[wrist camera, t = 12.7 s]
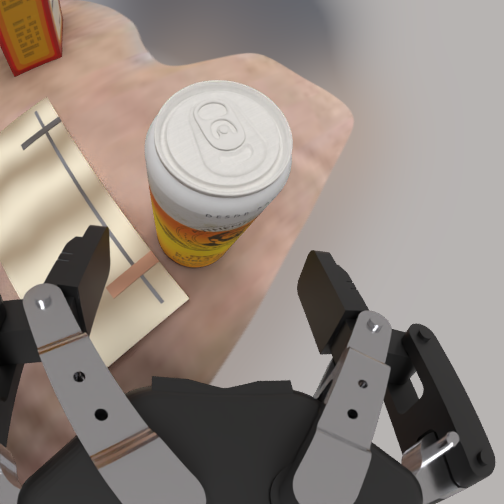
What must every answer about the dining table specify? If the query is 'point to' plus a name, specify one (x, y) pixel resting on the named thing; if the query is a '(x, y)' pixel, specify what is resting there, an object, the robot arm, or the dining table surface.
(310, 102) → the dining table surface
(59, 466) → the robot arm
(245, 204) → the beer can
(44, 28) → the baking soda box
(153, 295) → the cream flat rectangular panel
